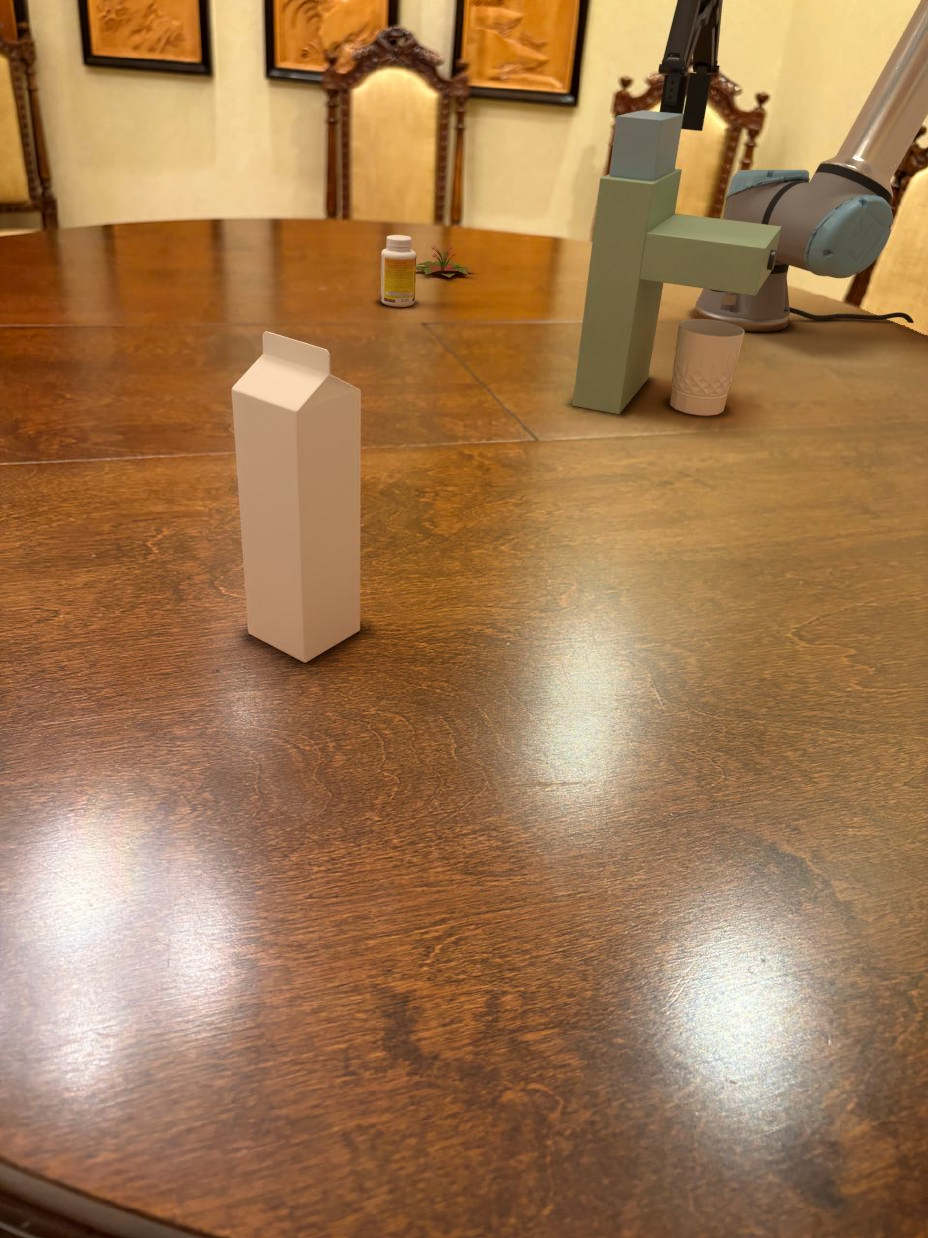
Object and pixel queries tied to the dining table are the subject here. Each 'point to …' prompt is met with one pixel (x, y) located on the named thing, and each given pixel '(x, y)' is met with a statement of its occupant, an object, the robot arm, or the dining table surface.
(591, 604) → the dining table surface
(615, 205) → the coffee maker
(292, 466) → the milk
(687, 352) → the beige cup
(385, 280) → the supplement bottle
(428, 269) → the green leafy plant
